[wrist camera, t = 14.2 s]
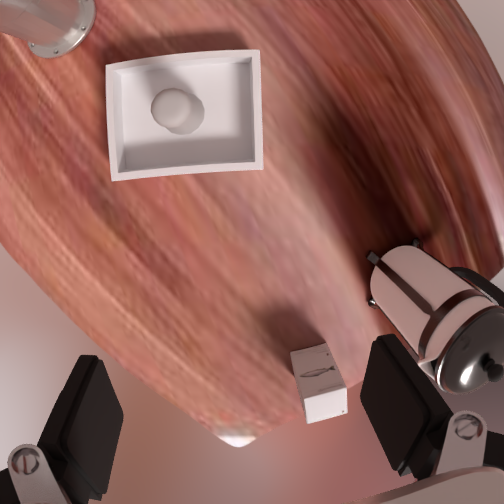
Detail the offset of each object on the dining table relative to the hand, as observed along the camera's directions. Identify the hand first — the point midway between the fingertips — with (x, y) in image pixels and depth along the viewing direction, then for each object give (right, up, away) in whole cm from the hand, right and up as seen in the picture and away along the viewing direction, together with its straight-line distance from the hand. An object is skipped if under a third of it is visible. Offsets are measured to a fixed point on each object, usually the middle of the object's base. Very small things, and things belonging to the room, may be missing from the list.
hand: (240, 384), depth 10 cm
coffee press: (+27, +1, +44) cm, 51 cm away
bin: (-9, +24, +31) cm, 40 cm away
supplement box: (+11, -16, +49) cm, 53 cm away
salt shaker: (-9, +23, +31) cm, 39 cm away
